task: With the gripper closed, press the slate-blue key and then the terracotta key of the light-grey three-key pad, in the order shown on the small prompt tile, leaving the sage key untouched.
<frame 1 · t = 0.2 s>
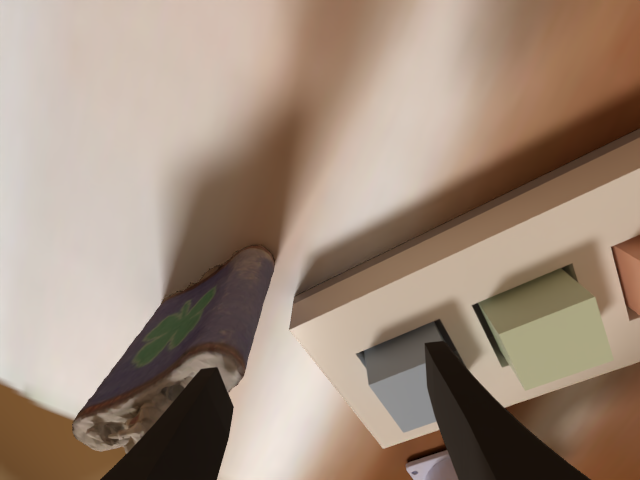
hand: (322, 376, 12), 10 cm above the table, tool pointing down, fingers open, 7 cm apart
slate key: (417, 375, 20), point 4 cm above the table, slide at 0.0 cm
flask: (217, 286, 22), on the table
keypad base: (506, 286, 22), on the table
sage key: (541, 328, 18), point 4 cm above the table, slide at 0.0 cm
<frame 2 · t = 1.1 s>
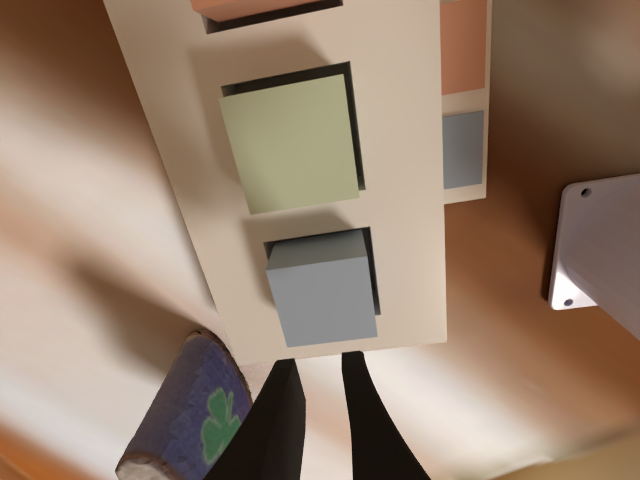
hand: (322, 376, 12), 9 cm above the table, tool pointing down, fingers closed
slate key: (324, 288, 17), point 4 cm above the table, slide at 0.0 cm
flask: (224, 374, 25), on the table
prompt tile: (458, 102, 17), on the table
keypad base: (302, 130, 17), on the table
sage key: (295, 144, 14), point 4 cm above the table, slide at 0.0 cm
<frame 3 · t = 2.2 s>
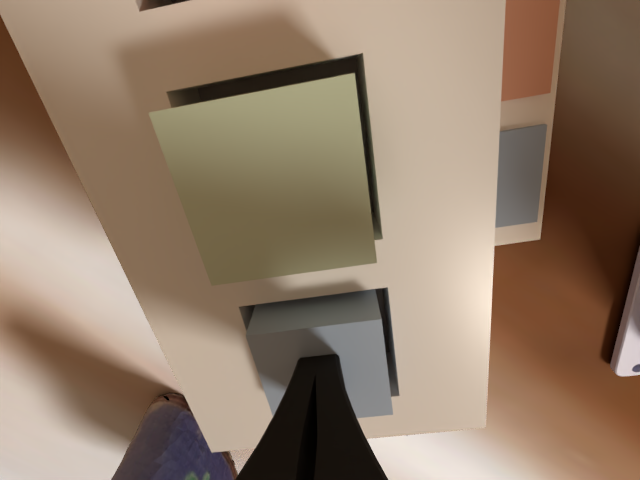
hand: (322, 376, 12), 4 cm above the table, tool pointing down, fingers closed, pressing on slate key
slate key: (324, 348, 13), point 3 cm above the table, slide at 1.0 cm, touching gripper
flask: (201, 441, 21), on the table
prompt tile: (509, 112, 12), on the table
keypad base: (294, 149, 13), on the table
sage key: (280, 178, 9), point 4 cm above the table, slide at 0.0 cm
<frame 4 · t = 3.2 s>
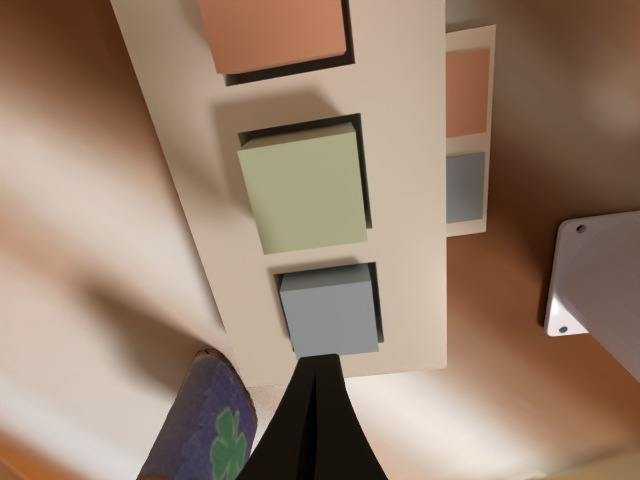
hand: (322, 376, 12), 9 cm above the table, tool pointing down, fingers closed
slate key: (331, 306, 19), point 3 cm above the table, slide at 1.0 cm
flask: (230, 391, 26), on the table
prompt tile: (460, 143, 18), on the table
keypad base: (312, 166, 18), on the table
sage key: (307, 188, 15), point 4 cm above the table, slide at 0.0 cm
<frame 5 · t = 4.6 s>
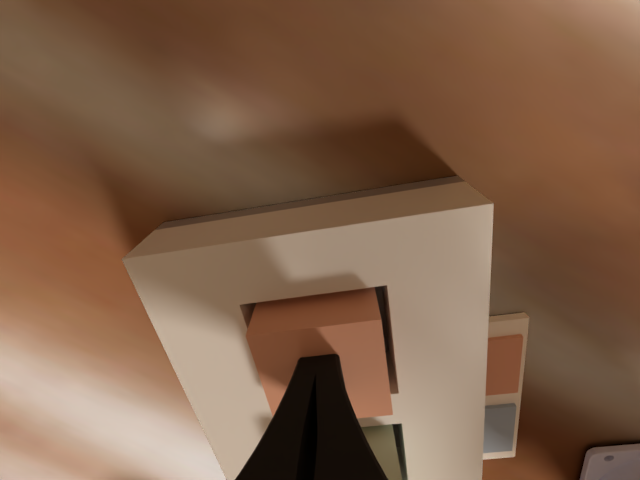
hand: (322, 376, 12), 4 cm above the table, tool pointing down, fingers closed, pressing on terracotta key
prompt tile: (491, 391, 18), on the table
terracotta key: (324, 348, 13), point 3 cm above the table, slide at 0.9 cm, touching gripper
keypad base: (346, 406, 19), on the table
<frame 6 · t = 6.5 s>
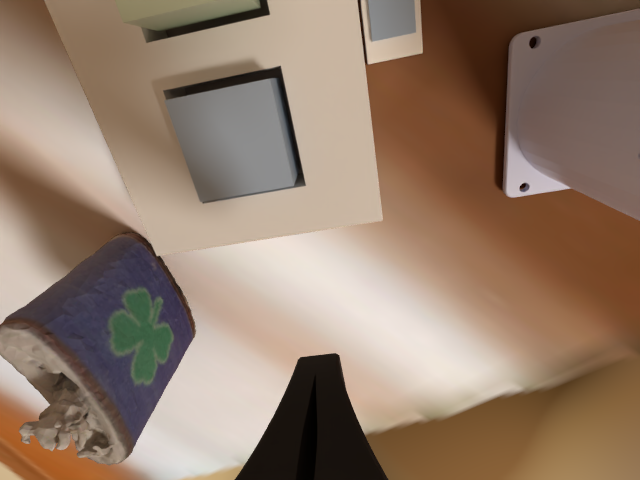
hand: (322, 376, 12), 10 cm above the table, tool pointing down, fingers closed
slate key: (239, 139, 16), point 3 cm above the table, slide at 1.0 cm
flask: (161, 289, 23), on the table
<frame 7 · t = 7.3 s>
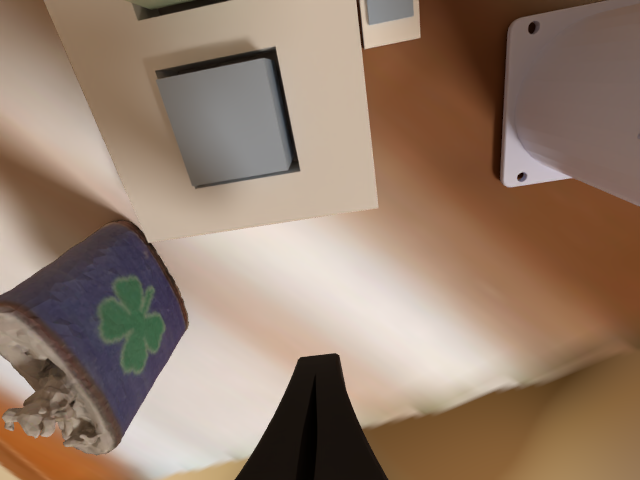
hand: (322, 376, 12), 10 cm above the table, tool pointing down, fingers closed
slate key: (233, 122, 16), point 3 cm above the table, slide at 1.0 cm
flask: (153, 279, 23), on the table
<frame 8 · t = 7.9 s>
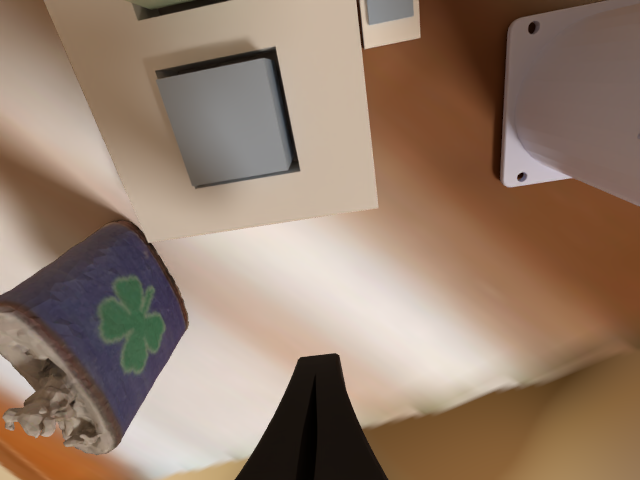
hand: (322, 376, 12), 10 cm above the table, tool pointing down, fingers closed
slate key: (233, 122, 16), point 3 cm above the table, slide at 1.0 cm
flask: (153, 279, 23), on the table
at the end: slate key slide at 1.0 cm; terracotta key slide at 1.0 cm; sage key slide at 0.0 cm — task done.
